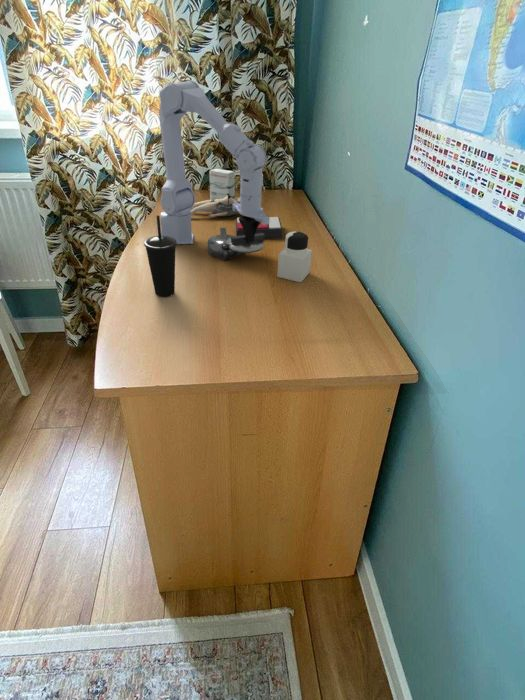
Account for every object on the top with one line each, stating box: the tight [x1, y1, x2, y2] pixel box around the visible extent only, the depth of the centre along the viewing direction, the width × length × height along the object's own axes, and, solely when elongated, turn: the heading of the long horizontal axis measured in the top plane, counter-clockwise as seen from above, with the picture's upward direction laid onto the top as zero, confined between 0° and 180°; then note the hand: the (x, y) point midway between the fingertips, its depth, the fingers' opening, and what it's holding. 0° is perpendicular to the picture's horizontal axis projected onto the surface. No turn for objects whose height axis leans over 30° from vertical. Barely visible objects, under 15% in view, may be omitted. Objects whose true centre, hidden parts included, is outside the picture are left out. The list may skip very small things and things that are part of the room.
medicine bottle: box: [277, 231, 313, 283], centre depth 124 cm, size 7×7×12 cm
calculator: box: [235, 216, 283, 240], centre depth 152 cm, size 11×4×15 cm
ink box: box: [208, 168, 236, 200], centre depth 174 cm, size 9×5×12 cm, turn 66°
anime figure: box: [191, 193, 240, 219], centre depth 163 cm, size 10×7×30 cm
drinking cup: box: [143, 214, 178, 298], centre depth 110 cm, size 8×8×20 cm
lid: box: [221, 233, 266, 254], centre depth 133 cm, size 13×11×3 cm
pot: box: [207, 227, 241, 262], centre depth 140 cm, size 10×18×4 cm, turn 7°
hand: (249, 241), depth 132 cm, fingers closed
